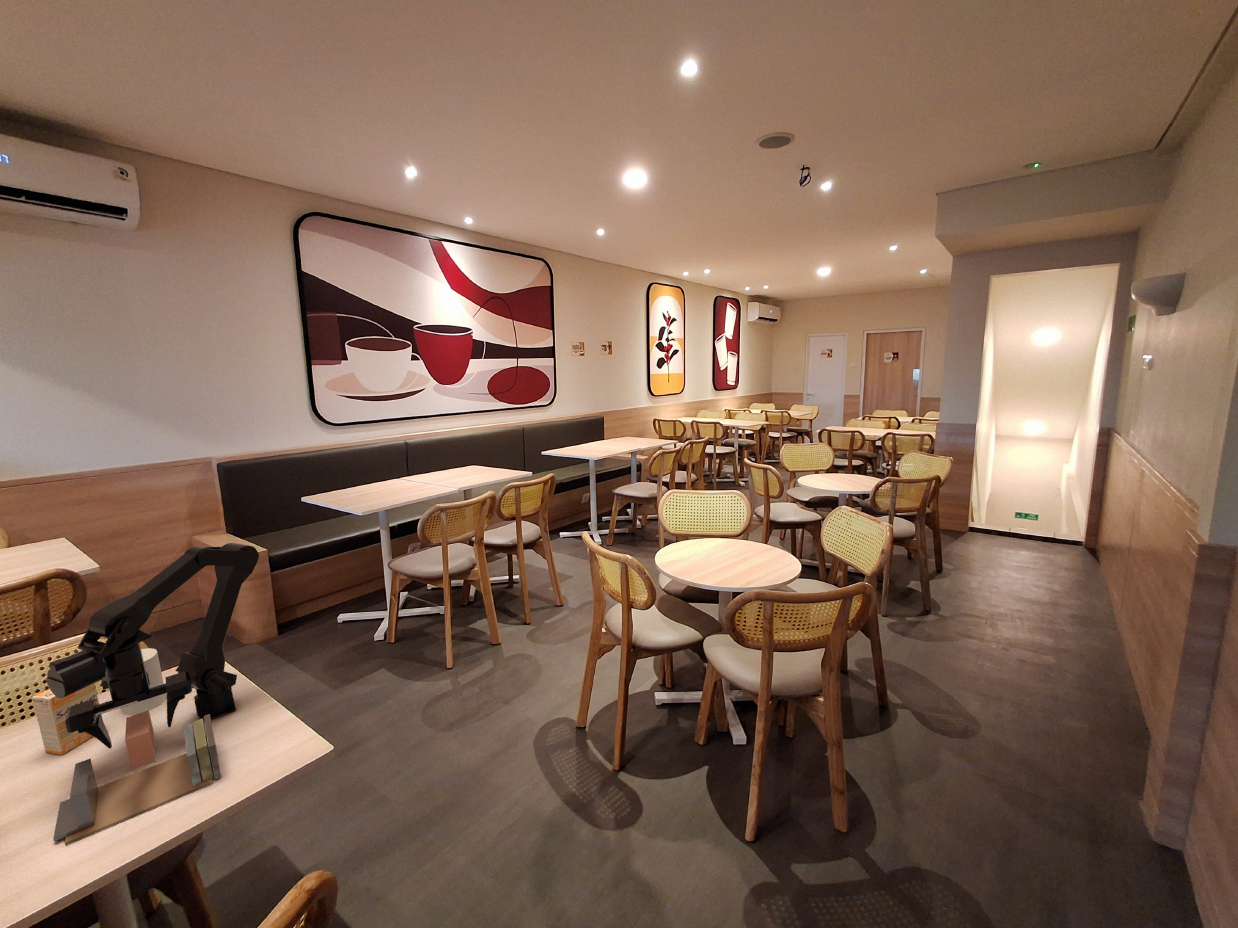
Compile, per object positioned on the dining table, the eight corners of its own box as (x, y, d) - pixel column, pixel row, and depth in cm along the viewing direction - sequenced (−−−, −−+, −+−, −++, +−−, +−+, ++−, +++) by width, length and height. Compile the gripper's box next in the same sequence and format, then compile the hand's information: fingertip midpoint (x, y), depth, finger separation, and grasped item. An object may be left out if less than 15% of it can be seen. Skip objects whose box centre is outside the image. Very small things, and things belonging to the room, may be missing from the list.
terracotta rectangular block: (155, 738, 117) (148, 709, 115) (155, 761, 110) (149, 731, 108) (133, 746, 114) (126, 717, 113) (132, 770, 108) (125, 740, 106)
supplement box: (62, 756, 112) (48, 699, 109) (44, 752, 113) (29, 696, 110) (107, 729, 120) (94, 675, 117) (89, 726, 121) (77, 673, 118)
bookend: (98, 790, 102) (90, 758, 101) (94, 824, 94) (86, 790, 93) (60, 804, 99) (52, 771, 97) (54, 841, 91) (44, 806, 90)
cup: (138, 694, 132) (128, 649, 130) (174, 691, 133) (165, 647, 130) (111, 716, 124) (100, 668, 122) (150, 713, 125) (140, 666, 123)
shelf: (215, 744, 115) (209, 712, 113) (221, 779, 105) (215, 745, 103) (73, 798, 101) (64, 763, 99) (65, 845, 91) (55, 807, 90)
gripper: (182, 636, 120) (195, 698, 123) (63, 668, 108) (81, 737, 111) (185, 656, 112) (198, 723, 115) (57, 694, 100) (76, 767, 103)
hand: (140, 736), depth 111 cm, fingers open, 9 cm apart
